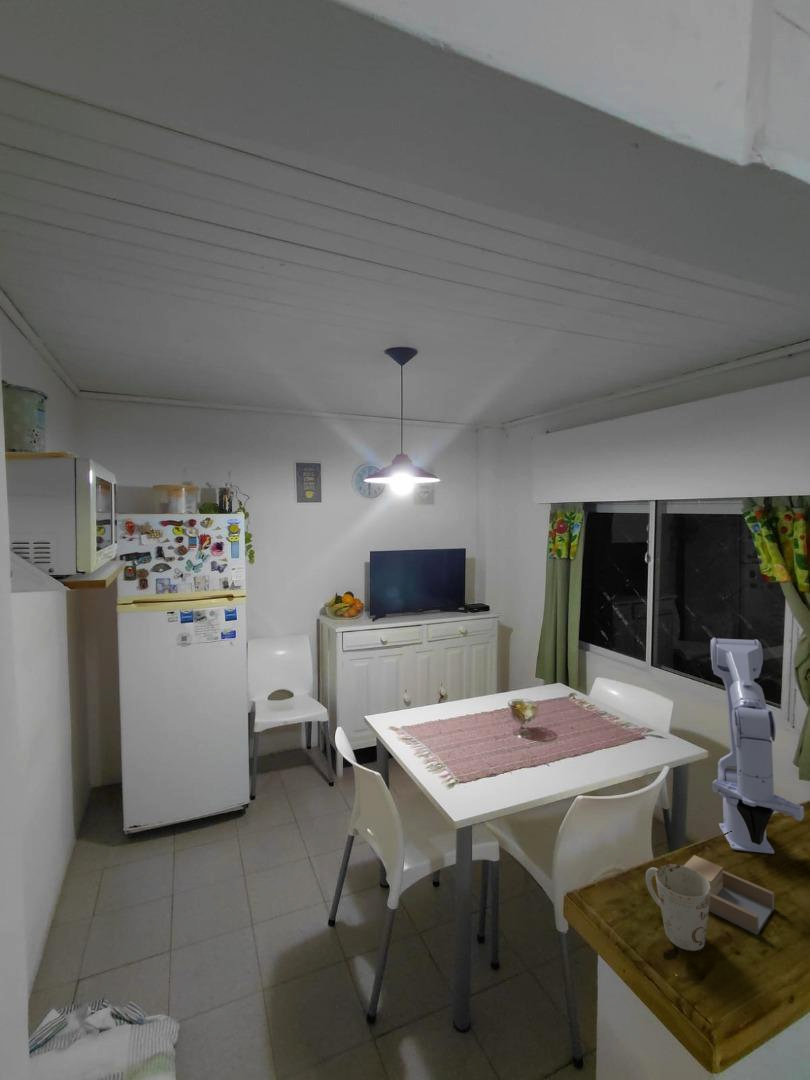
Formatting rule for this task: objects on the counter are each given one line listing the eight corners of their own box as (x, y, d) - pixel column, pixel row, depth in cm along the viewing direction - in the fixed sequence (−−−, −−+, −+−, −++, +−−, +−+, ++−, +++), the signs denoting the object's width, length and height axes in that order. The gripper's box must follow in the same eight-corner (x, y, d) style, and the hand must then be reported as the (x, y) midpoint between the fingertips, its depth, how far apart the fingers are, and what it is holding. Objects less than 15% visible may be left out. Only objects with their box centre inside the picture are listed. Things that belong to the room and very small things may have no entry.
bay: (672, 892, 99) (672, 877, 99) (692, 871, 105) (692, 856, 105) (757, 935, 88) (756, 917, 88) (774, 908, 94) (773, 892, 94)
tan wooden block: (682, 888, 100) (681, 868, 99) (694, 874, 103) (694, 854, 103) (711, 902, 95) (710, 881, 95) (723, 887, 99) (723, 867, 99)
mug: (688, 964, 83) (686, 903, 83) (628, 912, 95) (626, 858, 95) (724, 946, 87) (722, 887, 86) (661, 897, 98) (659, 846, 98)
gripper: (704, 765, 102) (707, 833, 102) (794, 792, 90) (797, 869, 91) (719, 754, 106) (721, 819, 106) (806, 778, 95) (808, 851, 95)
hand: (757, 841), depth 99 cm, fingers closed
